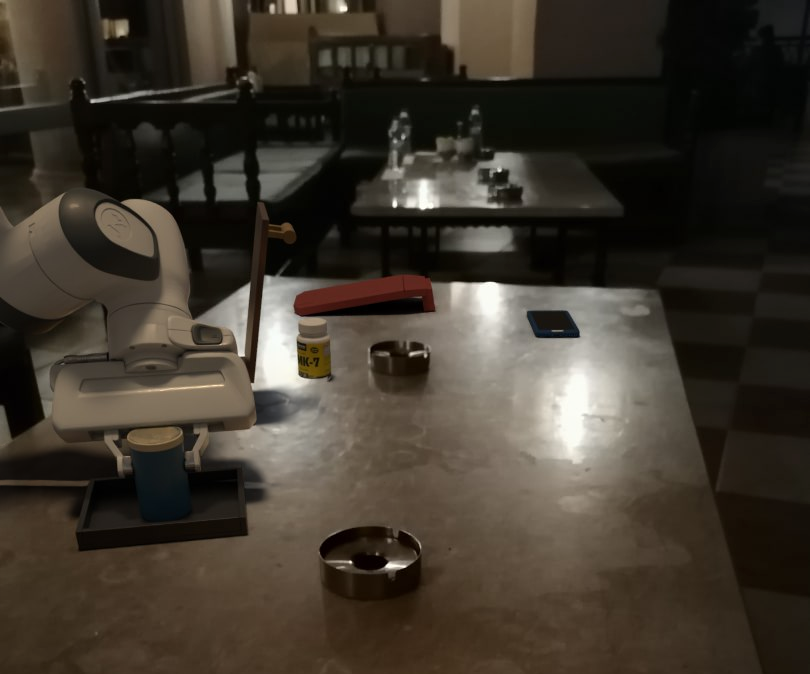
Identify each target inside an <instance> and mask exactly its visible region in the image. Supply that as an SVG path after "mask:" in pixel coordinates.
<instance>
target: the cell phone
mask: <svg viewBox="0 0 810 674" xmlns="http://www.w3.org/2000/svg"><path fill="white" fill-rule="evenodd" d="M526 317H527V319H528V322H529V324H530V326H531V329H532V331H533V333H534V335H535V337H538V338H539V337H542V338H545V337H547V338H549V337H550V338H552V337H554V338H555V337H556V338H557V337H560V338H561V337H580V334H581V331H580V328H579V327H578V325H577V323H576V322H575V320H574V318H573V317H572V315H571V314H570V312H569V310H566V309H565V310H564V309H558V310H557V309H556V310H555V309H553V310H552V309H551V310H549V309H548V310H547V309H544V310H542V309H541V310H537V309H536V310H535V309H534V310H533V309H532V310H531V309H530V310H527V311H526Z"/></svg>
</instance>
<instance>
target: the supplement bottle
mask: <svg viewBox="0 0 810 674" xmlns="http://www.w3.org/2000/svg"><path fill="white" fill-rule="evenodd" d="M297 326H298V327H297V329H298V334H297V336H296V339H295V340H296V357H297V374H298V376H299V378H303V379H306V380H307V379H308V380H319V379H324V378H326V382H328V381H329V380H331V379H332V354H331V352H332V351H331V336H330V334H329V333H327V332H328V322H327V320H326V319H324V318H321V317H308V318H302V319H299V321H298V322H297Z"/></svg>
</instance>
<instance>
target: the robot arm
mask: <svg viewBox="0 0 810 674" xmlns="http://www.w3.org/2000/svg"><path fill="white" fill-rule="evenodd" d="M190 294H191V279H190V269H189V261H188V256H187V252H186V246H185V242H184V239H183V236H182V233H181V230H180V228H179V225H178V223H177V221H176V219H175V218H174V216H173V215H172V213H170V212H169V211H168V210H167V209H166V208H164V207H163V206H161V205H159V204H158V203H155V202H153V201H150V200H147V199H141V198H129V199H125V200H123V201H121V202H120V201H119V200H117V199H116V198H113V197H111V196H109V195H108V194H105V193H103V192H101V191H98V190H96V189H92V188H88V187H74V188H73V187H72V188H71V189H69V190H66V191H65V192H64V193H62V194H60V195H58V196H57V197H55V198H53V199H52V200H50V201H49V202H47V203H46V204H44V205H43V206H41V207H40V208H38V209H37V210H36V211H35V212H34V213H33V214H31V215H30V216H28V217H27V218H25V219H23V220H22V221H21V222H19V223H17V224H16V225H13V224H11V222H10V221H9V219H8V217H7V216H6V214H5V212H4V210H3V208H2V206H1V205H0V324H1V325H3V326H5V327H7V328H9V329H10V330H11V329H12V330H13V331H17V332H19V333H23V334H27V335H42V334H45V333H48V332H50V331H51V330H52V329H54V328H55V327H56V326H58V325H59V324H60V323H62V322H63V321H64V320H66V319H68V317H70V316H71V315H72V314H73V313H74V312H76V311H77V310H79V309H81V308H83V307H85V306H86V305H88V304H90V303H91V302H93V301H95V302H97V303H100V304H102V305H103V306H104V307H105V308H106V310H107V316H106V333H107V334H106V335H107V349H108V351H107V352H106V351H105V352H93V353H87V354H72V353H71V354H67V355H63V358H61V359H59V360H57V361H56V362H54V363H53V364H52V365H51V366H50V369H49V388H50V390H51V392H52V403H51V425H52V428H53V430H54V432H55V433H56V435H57V436H58V437H59V438H60V439H61V440H62V441H63V442H64V443H67V444H76V443H78V444H79V443H89V442H103V441H104V444H105V445H106V448H107V450H108V451H109V453H110V454H111V455H112V457H113V458H114V459H115V460H116V467H117V474H118V477H120V478H132V477H134V471H133V466H132V460H131V455H124V454H123V453H122V452H121V450H120V449H122V448H123V440H127V435H128V434H129V433H130V432H131V431H133V430H135V429H137V428H140V427H153V426H167V425H174V426H177V427H179V428H180V429H181V430H182V431H183V435H194V438H195V444H194V445H193V448H192V450H188V451H184V458H185V469H186V472H187V473H190V472H201V470H202V464H201V457H202V456H203V454H204V452H205V451H206V449H207V447H208V446H209V443H210V433H221V432H233V431H245V430H247V431H248V430H251V429H252V427H253V426H255V425H254V423H255V424H256V422H257V411H256V402H255V396H254V395H255V394H254V391H253V386H252V383H251V382H250V378H249V374H248V371H247V368H246V366H245V363H244V362H243V360H242V359H241V358H240V357H241V356H240V355H239V349H238V343H237V339H236V336H235V334H234V332H233V331H232V330H231V329H230V328H227V327H225V326H224V327H223V326H219V325H215V324H210V323H205V322H201V321H198V320H194V319H193V316H192V314H191V311H190V309H189V299H190Z"/></svg>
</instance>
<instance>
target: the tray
mask: <svg viewBox="0 0 810 674" xmlns="http://www.w3.org/2000/svg"><path fill="white" fill-rule="evenodd" d="M187 475H188V483H189V490H190V498H191V505H192V509H191V511H190V512H189V513H188V514H187V515H185V516H184V517H181V518H179V519H176V520H172V521H164V522H156V521H150V520H147V519H145V518H143V517H142V516H141V513H140V507H139V501H138V495H137V489H136V483H135V478H134V477H132V478H120V477H119V476H111V477H109V476H108V477H97V478H89V480H88V485H87V487H86V492H85V495H84V498H83V503H82V506H81V510H80V513H79V517H78V521H77V524H76V528H75V539H76V542H77V547H78V550H79V551H82V550H84V551H85V550H92V549H93V550H94V549H103V548H114V547H115V548H117V547H126V546H136V545H137V546H138V545H147V544H157V543H158V544H159V543H167V542H168V543H169V542H178V541H179V542H180V541H190V540H200V539H212V538H222V537H234V536H244V535H248V521H247V508H246V507H247V506H246V494H245V482H244V471H243V466H235V467H234V466H231V467H221V468H209V469H201V472H190V473H187Z"/></svg>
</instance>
